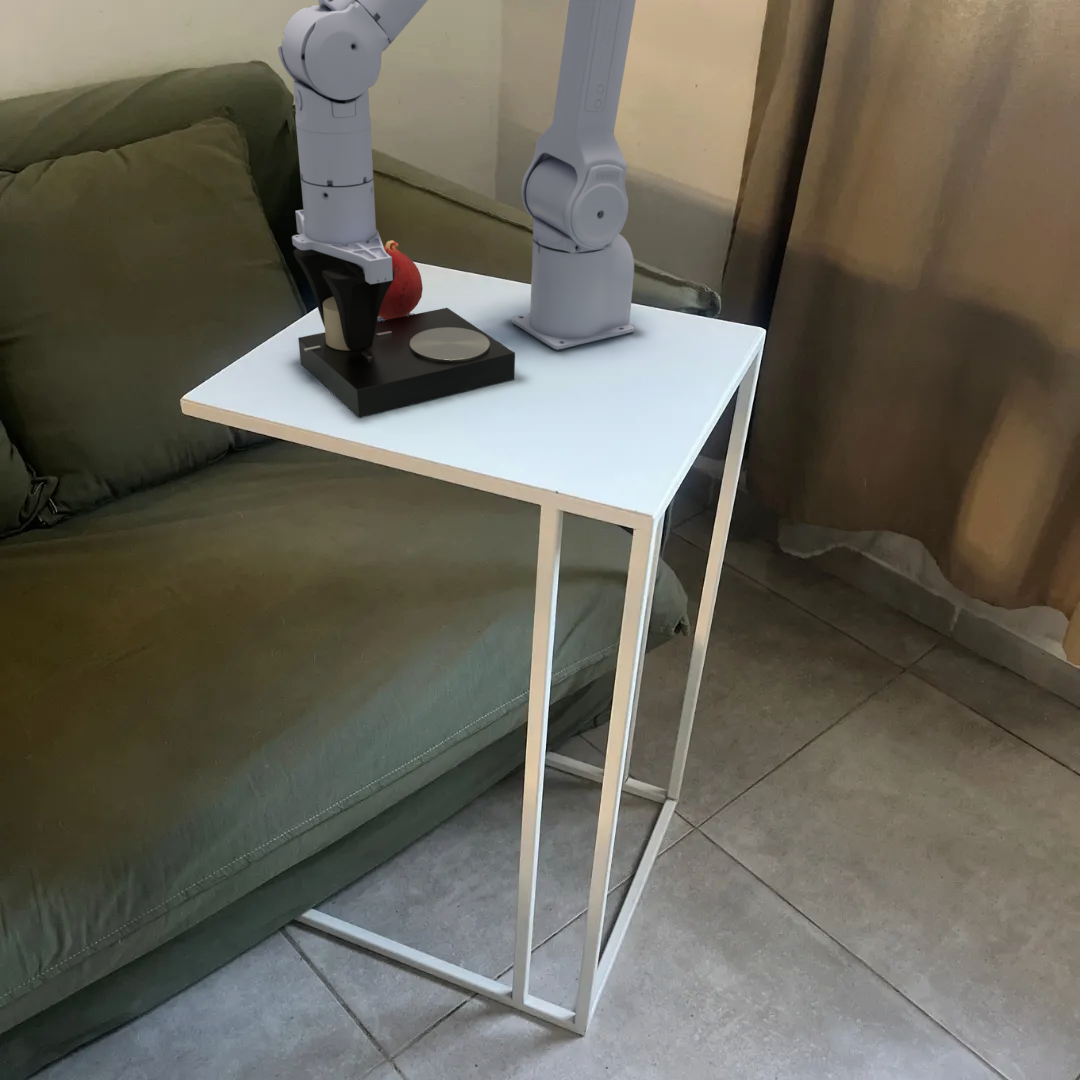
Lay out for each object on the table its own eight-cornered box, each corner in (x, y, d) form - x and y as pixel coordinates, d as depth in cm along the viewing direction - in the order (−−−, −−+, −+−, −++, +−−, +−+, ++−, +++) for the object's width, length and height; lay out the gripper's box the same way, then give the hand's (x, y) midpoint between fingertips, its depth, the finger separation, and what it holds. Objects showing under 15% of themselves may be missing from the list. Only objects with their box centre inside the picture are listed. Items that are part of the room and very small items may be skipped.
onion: (412, 337, 96) (410, 254, 92) (354, 330, 97) (349, 248, 92) (430, 315, 101) (428, 235, 96) (375, 308, 102) (370, 229, 97)
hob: (441, 328, 98) (441, 301, 97) (514, 379, 89) (515, 351, 88) (289, 360, 91) (286, 332, 89) (352, 419, 82) (350, 389, 80)
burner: (464, 325, 93) (464, 321, 92) (505, 352, 88) (505, 349, 88) (395, 339, 89) (395, 336, 89) (434, 369, 85) (434, 365, 84)
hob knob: (318, 337, 89) (314, 296, 87) (359, 329, 91) (357, 288, 89) (338, 354, 86) (334, 311, 84) (380, 344, 88) (378, 303, 86)
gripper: (255, 161, 84) (273, 317, 91) (328, 207, 74) (340, 378, 81) (334, 153, 87) (345, 304, 95) (414, 196, 77) (418, 361, 85)
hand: (348, 337), depth 88 cm, fingers closed on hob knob, 4 cm apart
